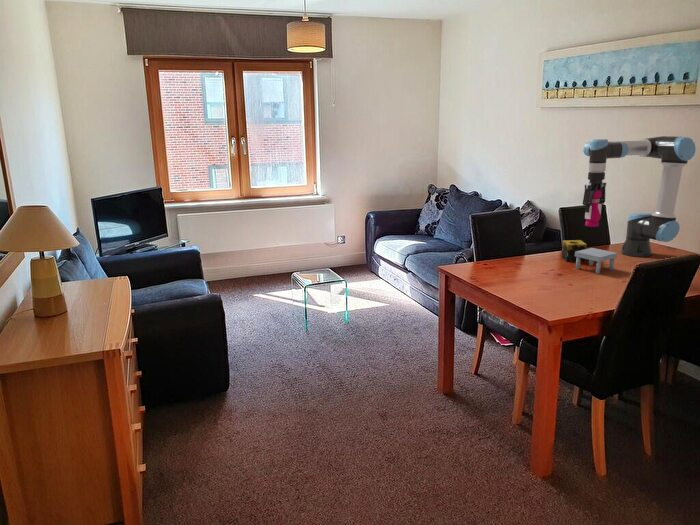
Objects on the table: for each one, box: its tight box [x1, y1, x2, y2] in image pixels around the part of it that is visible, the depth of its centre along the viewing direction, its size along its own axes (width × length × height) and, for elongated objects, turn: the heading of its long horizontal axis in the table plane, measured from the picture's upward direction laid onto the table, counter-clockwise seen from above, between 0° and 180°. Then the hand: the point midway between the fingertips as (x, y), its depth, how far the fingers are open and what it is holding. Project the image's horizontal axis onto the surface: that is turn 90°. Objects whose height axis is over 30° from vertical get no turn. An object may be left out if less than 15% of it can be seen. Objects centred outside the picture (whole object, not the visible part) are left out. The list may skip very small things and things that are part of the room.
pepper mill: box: [584, 190, 602, 228], centre depth 257 cm, size 7×7×20 cm
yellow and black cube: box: [561, 239, 587, 263], centre depth 282 cm, size 10×10×10 cm
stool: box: [575, 247, 618, 275], centre depth 263 cm, size 14×14×9 cm
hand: (592, 217), depth 259 cm, fingers closed on pepper mill, 7 cm apart
